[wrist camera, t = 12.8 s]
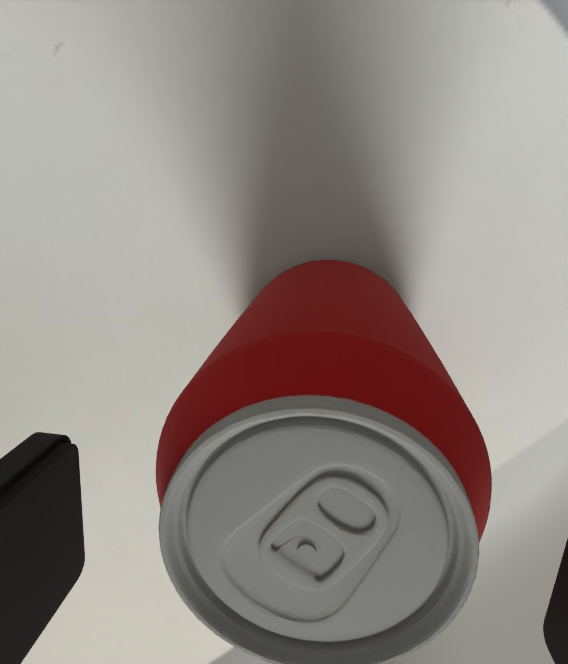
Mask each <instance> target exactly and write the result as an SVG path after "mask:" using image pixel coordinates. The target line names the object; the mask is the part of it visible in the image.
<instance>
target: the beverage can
mask: <svg viewBox="0 0 568 664" xmlns="http://www.w3.org/2000/svg"><path fill="white" fill-rule="evenodd" d="M156 484H157V492H158V498H159V503H160V508H161V511H160V518H159V538H160V548H161V553H162V557H163V561H164V564H165V567H166V570H167V572H168V575H169V577H170V579H171V581H172V583H173V585H174V587H175V589H176V590H177V592H178V594H179V595H180V597H181V598H182V600H183V601H184V603H185V604H186V605H187V606H188V608H189V609H190V610H191V611H192V612H193V613H194V615H195V616H196V617H197V618H198V619H199V620H200V621H201V622H202V623H203V624H204V625H205V626H207V627H208V628H209V629H210V630H211V631H213V632H214V633H215V634H216V635H217V636H219V637H220V638H222V639H223V640H225V641H226V642H228V643H230V644H231V645H233V646H234V647H236V648H238V649H240V650H242V651H244V652H246V653H248V654H250V655H252V656H254V657H257V658H259V659H261V660H264V661H267V662H270V663H273V664H388V663H391V662H393V661H396V660H398V659H401V658H403V657H405V656H408V655H409V654H411V653H413V652H415V651H416V650H418V649H420V648H422V647H423V646H425V645H426V644H428V643H429V642H431V641H432V640H433V639H434V638H436V636H438V635H439V634H440V633H441V632H442V631H444V630H445V629H446V628H447V626H448V625H449V624H450V623H451V622H452V621H453V620H454V618H455V617H456V616H457V614H458V613H459V612H460V610H461V609H462V607H463V605H464V603H465V602H466V600H467V598H468V596H469V594H470V591H471V589H472V586H473V583H474V581H475V578H476V572H477V567H478V559H479V542H480V540H481V537H482V534H483V532H484V529H485V525H486V523H487V518H488V514H489V510H490V501H491V490H492V488H491V487H492V477H491V467H490V461H489V456H488V451H487V448H486V445H485V442H484V439H483V436H482V434H481V432H480V429H479V427H478V425H477V423H476V421H475V419H474V418H473V416H472V414H471V412H470V411H469V409H468V407H467V405H466V404H465V402H464V400H463V398H462V397H461V395H460V393H459V391H458V390H457V388H456V386H455V385H454V383H453V381H452V379H451V378H450V376H449V374H448V372H447V371H446V369H445V367H444V366H443V364H442V362H441V361H440V359H439V357H438V356H437V354H436V352H435V351H434V349H433V347H432V346H431V344H430V342H429V341H428V339H427V337H426V336H425V334H424V333H423V331H422V330H421V328H420V326H419V325H418V323H417V322H416V320H415V318H414V317H413V315H412V314H411V312H410V311H409V309H408V308H407V307H406V305H405V304H404V302H403V301H402V299H401V298H400V296H399V295H398V293H397V292H396V291H395V290H394V289H393V288H392V287H391V286H390V285H389V284H388V283H387V282H386V281H385V280H384V279H383V278H381V277H380V276H378V275H377V274H375V273H374V272H372V271H370V270H368V269H366V268H364V267H362V266H359V265H356V264H353V263H349V262H344V261H336V260H320V261H313V262H308V263H304V264H301V265H298V266H295V267H293V268H291V269H289V270H287V271H285V272H283V273H282V274H280V275H279V276H277V277H276V278H274V279H273V280H272V281H271V282H270V283H269V284H268V285H267V286H266V287H265V288H264V289H263V290H262V291H261V292H260V293H259V295H258V296H257V297H256V298H255V299H254V300H253V301H252V303H251V304H250V305H249V306H248V308H247V309H246V310H245V311H244V312H243V314H242V315H241V316H240V317H239V319H238V320H237V321H236V322H235V324H234V325H233V326H232V327H231V329H230V330H229V331H228V332H227V334H226V335H225V336H224V338H223V339H222V340H221V341H220V343H219V344H218V345H217V346H216V348H215V349H214V350H213V352H212V353H211V354H210V356H209V357H208V358H207V360H206V361H205V362H204V364H203V365H202V366H201V368H200V369H199V370H198V372H197V373H196V374H195V376H194V377H193V378H192V380H191V381H190V382H189V384H188V385H187V386H186V387H185V389H184V390H183V391H182V393H181V394H180V396H179V397H178V399H177V400H176V402H175V403H174V405H173V407H172V409H171V411H170V412H169V414H168V416H167V419H166V421H165V424H164V426H163V429H162V432H161V436H160V440H159V445H158V450H157V460H156Z"/></svg>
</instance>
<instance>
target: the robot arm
mask: <svg viewBox="0 0 568 664" xmlns="http://www.w3.org/2000/svg"><path fill="white" fill-rule="evenodd" d="M84 561H85V552H84V535H83V519H82V503H81V486H80V470H79V453H78V448H77V446H76V445H75V444H71V441H70V439H69V437H68V436H66V435H59V434H50V433H42V432H36V433H34V434H32V435H31V436H30V437H28V438H27V439H26V440H24V441H23V442H22V443H21V444H19V445H18V446H17V447H15V448H14V449H13V450H11V451H10V452H9V453H8V454H6V455H5V456H4V457H2V458H1V459H0V664H21V662H22V661H23V659H24V658H25V656H26V655H27V653H28V652H29V651H30V649H31V648H32V646H33V645H34V643H35V642H36V640H37V639H38V637H39V636H40V634H41V633H42V631H43V630H44V628H45V627H46V626H47V624H48V623H49V621H50V620H51V618H52V617H53V615H54V614H55V612H56V611H57V609H58V608H59V606H60V605H61V603H62V602H63V601H64V599H65V598H66V596H67V595H68V593H69V592H70V590H71V589H72V587H73V586H74V584H75V583H76V581H77V580H78V578H79V576H80V574H81V572H82V569H83V566H84ZM543 630H544V638H545V642H546V645H547V647H548V650H549V652H550V654H551V656H552V658H553V660H554V662H555V664H568V540H567V543H566V546H565V550H564V553H563V557H562V561H561V564H560V567H559V571H558V574H557V578H556V581H555V585H554V588H553V592H552V595H551V599H550V602H549V606H548V609H547V613H546V616H545V620H544V625H543Z"/></svg>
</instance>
